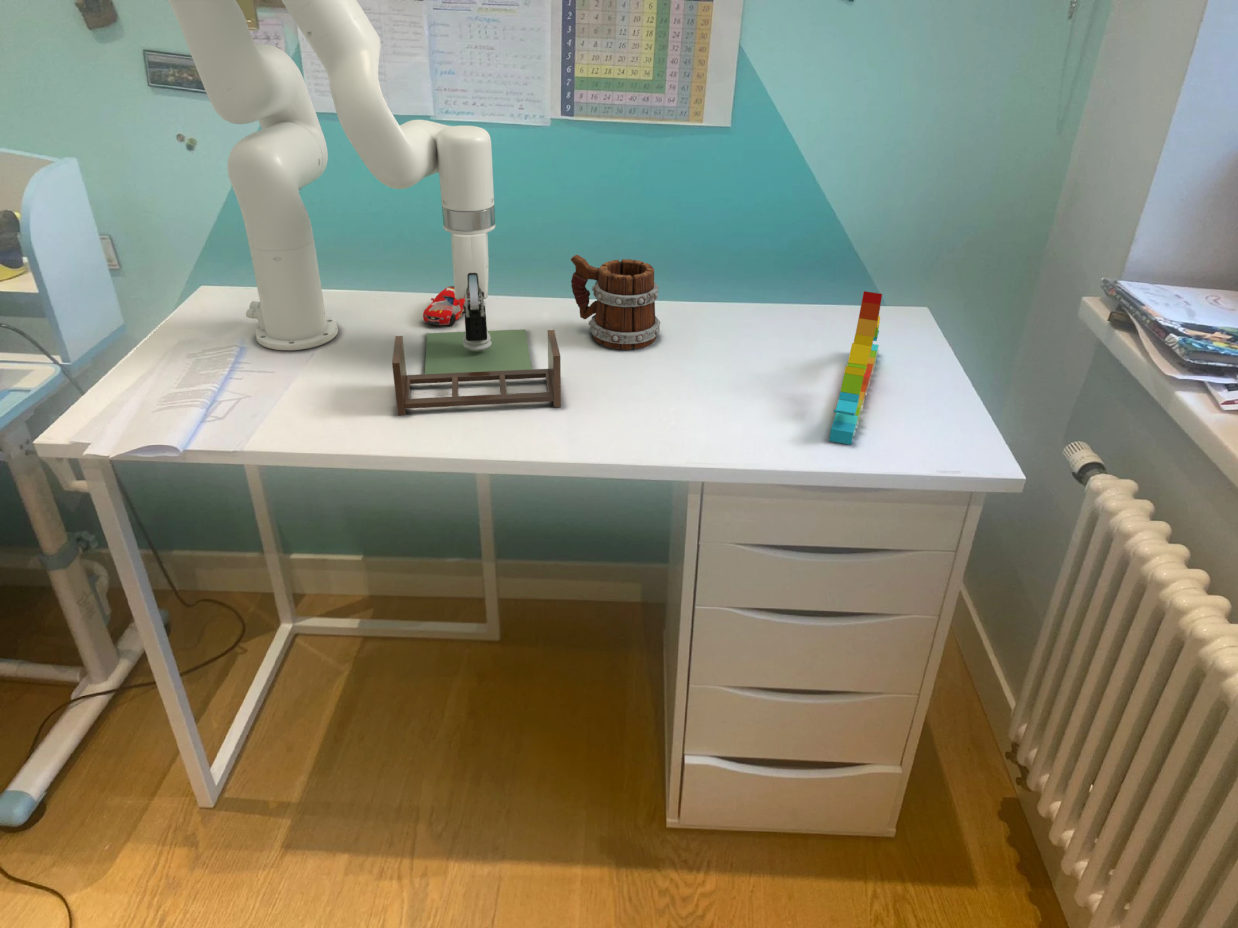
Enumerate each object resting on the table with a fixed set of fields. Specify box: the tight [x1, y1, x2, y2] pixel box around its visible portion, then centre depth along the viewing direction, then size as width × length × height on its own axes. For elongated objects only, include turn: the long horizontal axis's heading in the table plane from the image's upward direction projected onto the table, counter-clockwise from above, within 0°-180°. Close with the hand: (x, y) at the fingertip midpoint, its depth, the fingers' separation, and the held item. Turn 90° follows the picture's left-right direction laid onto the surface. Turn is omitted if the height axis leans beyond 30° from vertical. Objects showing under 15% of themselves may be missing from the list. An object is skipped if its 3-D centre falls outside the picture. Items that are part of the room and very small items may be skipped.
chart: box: [828, 290, 883, 446], centre depth 132 cm, size 30×3×15 cm, turn 160°
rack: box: [391, 329, 562, 416], centre depth 130 cm, size 9×23×8 cm, turn 99°
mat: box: [424, 329, 533, 374], centre depth 144 cm, size 16×16×1 cm
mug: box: [570, 254, 661, 351], centre depth 148 cm, size 12×14×15 cm
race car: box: [422, 285, 469, 326], centre depth 157 cm, size 13×5×4 cm, turn 161°
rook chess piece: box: [463, 301, 492, 352], centre depth 142 cm, size 4×4×8 cm
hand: (476, 333), depth 143 cm, fingers closed on rook chess piece, 3 cm apart
